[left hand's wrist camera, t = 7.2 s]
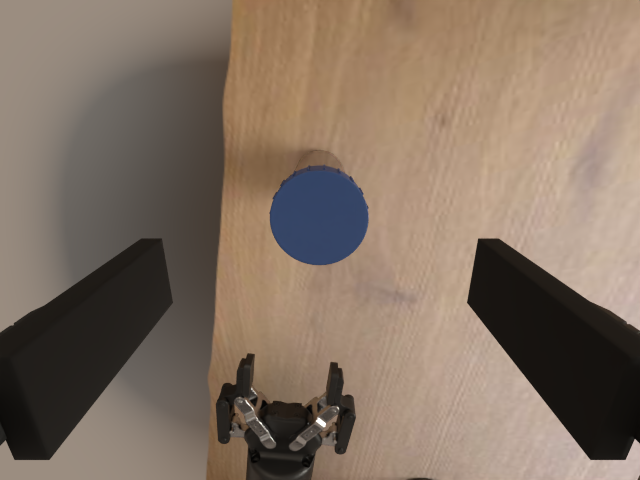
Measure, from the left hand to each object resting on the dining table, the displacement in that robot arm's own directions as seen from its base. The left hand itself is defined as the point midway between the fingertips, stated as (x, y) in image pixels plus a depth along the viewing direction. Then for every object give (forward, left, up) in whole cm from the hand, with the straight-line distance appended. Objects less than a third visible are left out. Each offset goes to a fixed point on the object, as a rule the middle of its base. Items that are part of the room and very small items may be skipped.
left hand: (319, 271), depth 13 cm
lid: (0, 0, -7) cm, 7 cm away
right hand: (+18, +3, -16) cm, 24 cm away
